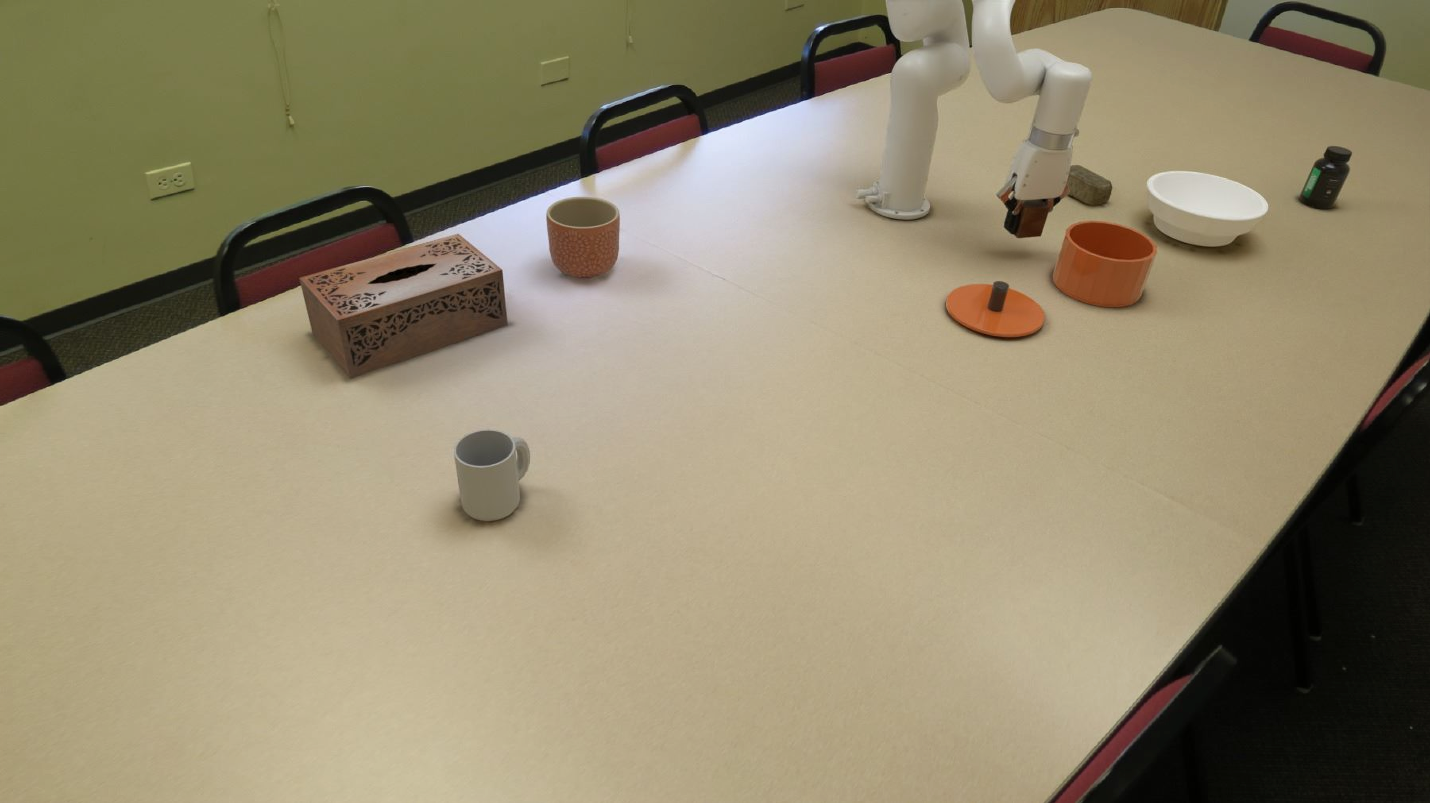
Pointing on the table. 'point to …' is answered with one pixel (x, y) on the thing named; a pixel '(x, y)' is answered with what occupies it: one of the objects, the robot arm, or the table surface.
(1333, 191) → the supplement bottle
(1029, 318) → the pan lid
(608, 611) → the table surface
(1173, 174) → the bowl
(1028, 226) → the metal block
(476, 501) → the cup
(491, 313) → the tissue box cover
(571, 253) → the planter
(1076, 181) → the stone block
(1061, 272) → the pan
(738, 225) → the table surface
